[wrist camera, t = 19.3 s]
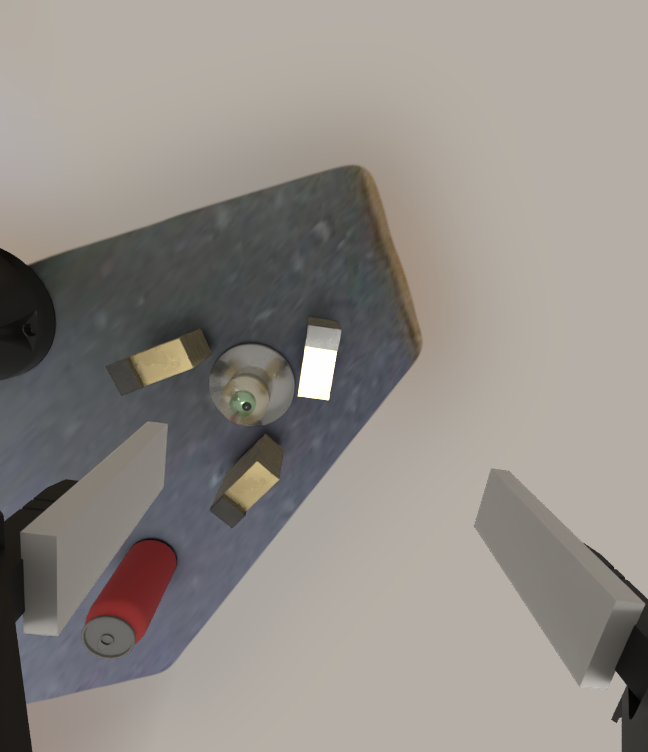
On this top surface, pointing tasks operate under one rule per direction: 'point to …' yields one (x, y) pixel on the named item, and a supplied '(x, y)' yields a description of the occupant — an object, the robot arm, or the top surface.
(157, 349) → the gold angular block
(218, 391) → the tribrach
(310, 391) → the brass angular block
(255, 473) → the brass wedge block
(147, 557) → the beer can
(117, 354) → the top surface
